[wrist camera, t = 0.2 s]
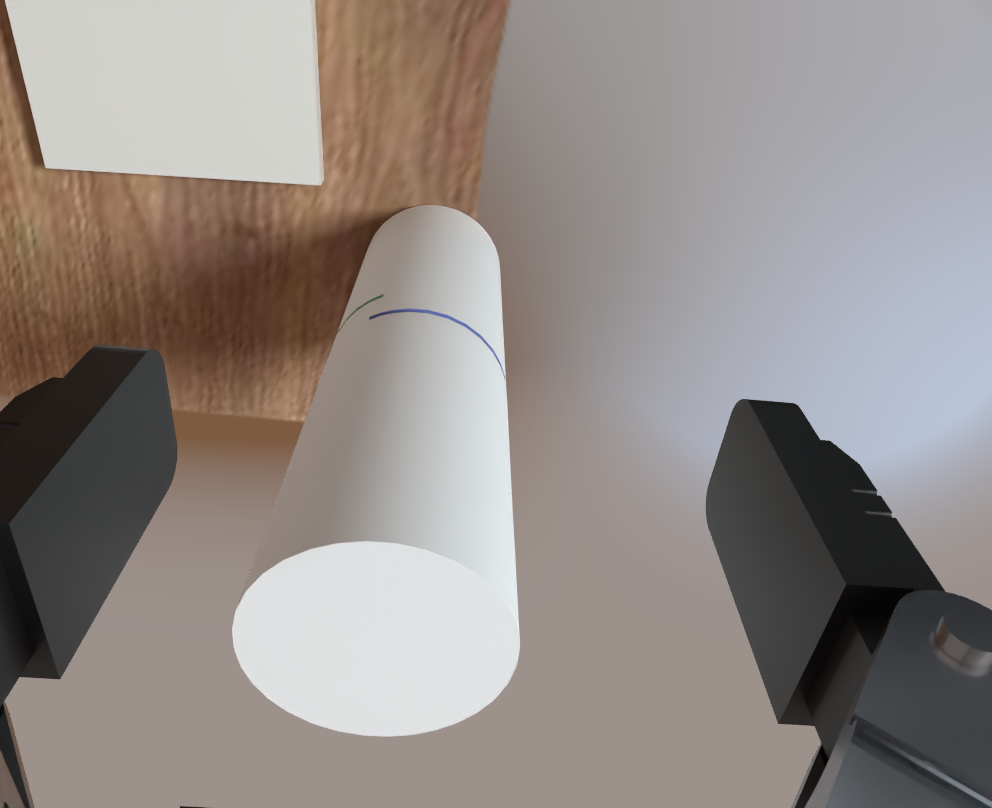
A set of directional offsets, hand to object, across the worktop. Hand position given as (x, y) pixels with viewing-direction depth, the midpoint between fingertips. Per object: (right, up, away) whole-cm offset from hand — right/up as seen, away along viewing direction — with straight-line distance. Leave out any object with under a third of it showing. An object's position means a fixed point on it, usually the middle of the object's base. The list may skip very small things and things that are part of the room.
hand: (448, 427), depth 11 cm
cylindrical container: (-3, +7, +29) cm, 31 cm away
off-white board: (-14, +17, +23) cm, 32 cm away
